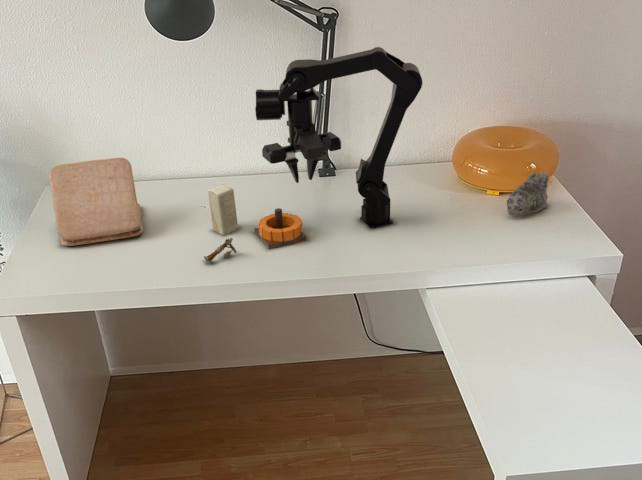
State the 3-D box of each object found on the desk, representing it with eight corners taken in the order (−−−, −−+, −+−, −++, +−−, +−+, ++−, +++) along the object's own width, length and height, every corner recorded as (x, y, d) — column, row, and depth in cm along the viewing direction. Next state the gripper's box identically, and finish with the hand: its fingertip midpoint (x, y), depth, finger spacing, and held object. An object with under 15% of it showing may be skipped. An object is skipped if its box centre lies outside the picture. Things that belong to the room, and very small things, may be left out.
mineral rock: (507, 221, 192) (512, 183, 186) (493, 203, 201) (497, 167, 195) (556, 216, 194) (562, 179, 188) (540, 199, 202) (545, 162, 196)
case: (60, 250, 187) (44, 189, 178) (63, 214, 204) (48, 157, 194) (144, 239, 191) (132, 178, 181) (140, 205, 207) (129, 148, 198)
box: (228, 223, 196) (223, 183, 190) (238, 228, 194) (234, 188, 187) (212, 230, 193) (206, 189, 187) (222, 235, 191) (217, 194, 184)
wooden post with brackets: (241, 250, 182) (232, 237, 179) (215, 271, 181) (206, 258, 177) (237, 247, 183) (228, 234, 180) (212, 268, 182) (203, 255, 179)
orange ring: (292, 219, 194) (292, 209, 193) (308, 236, 187) (308, 226, 185) (253, 227, 191) (252, 218, 190) (268, 245, 183) (267, 235, 182)
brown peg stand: (291, 224, 195) (289, 198, 191) (306, 240, 187) (305, 213, 183) (254, 232, 192) (252, 206, 187) (268, 249, 184) (266, 222, 180)
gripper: (277, 136, 170) (282, 200, 179) (351, 121, 176) (352, 184, 185) (258, 121, 178) (264, 184, 187) (330, 108, 184) (331, 169, 193)
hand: (303, 181), depth 188 cm, fingers open, 3 cm apart
